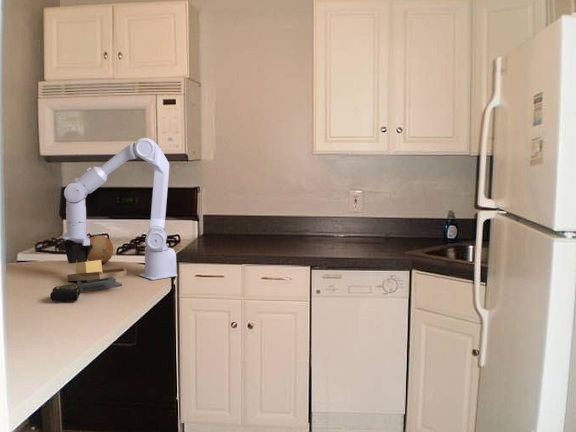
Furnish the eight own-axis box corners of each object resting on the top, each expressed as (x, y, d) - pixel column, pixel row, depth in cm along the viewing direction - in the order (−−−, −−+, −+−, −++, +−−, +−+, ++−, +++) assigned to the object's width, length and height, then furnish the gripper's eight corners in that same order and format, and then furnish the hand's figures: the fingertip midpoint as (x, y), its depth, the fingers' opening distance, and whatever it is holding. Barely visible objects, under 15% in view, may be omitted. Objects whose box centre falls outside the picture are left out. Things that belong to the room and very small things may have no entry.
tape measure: (49, 304, 138) (49, 290, 138) (56, 297, 145) (56, 283, 144) (77, 304, 139) (76, 290, 139) (82, 296, 146) (82, 283, 146)
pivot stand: (109, 280, 164) (109, 274, 164) (122, 285, 158) (122, 279, 158) (70, 286, 155) (70, 280, 155) (82, 292, 150) (82, 285, 149)
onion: (96, 268, 179) (95, 239, 178) (78, 264, 185) (77, 235, 184) (119, 263, 187) (119, 235, 186) (101, 259, 193) (101, 232, 192)
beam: (93, 279, 167) (92, 271, 167) (127, 277, 151) (126, 268, 151) (68, 283, 161) (67, 274, 162) (100, 281, 146) (99, 271, 146)
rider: (91, 274, 164) (90, 261, 164) (102, 273, 159) (101, 259, 159) (76, 276, 161) (74, 263, 161) (86, 275, 155) (85, 261, 155)
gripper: (53, 220, 166) (54, 262, 168) (73, 225, 156) (74, 271, 158) (76, 218, 171) (76, 259, 173) (96, 223, 161) (96, 267, 163)
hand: (77, 265), depth 166 cm, fingers open, 6 cm apart
